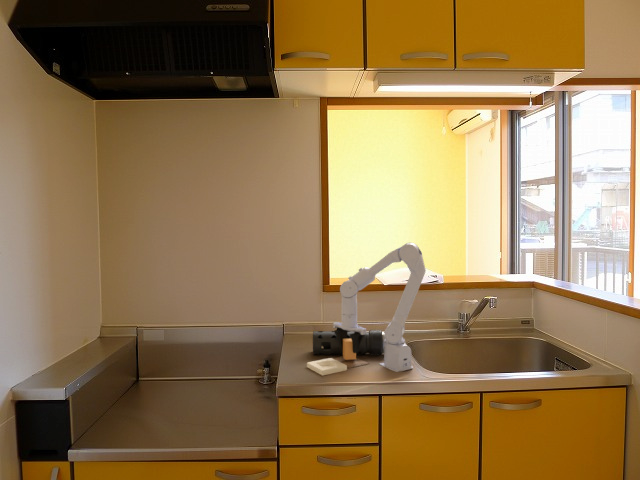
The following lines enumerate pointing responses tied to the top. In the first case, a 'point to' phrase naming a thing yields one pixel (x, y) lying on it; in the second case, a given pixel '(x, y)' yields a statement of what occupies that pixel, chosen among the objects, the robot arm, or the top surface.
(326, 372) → the socket block
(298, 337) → the top surface
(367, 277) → the robot arm
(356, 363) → the pad
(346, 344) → the plug
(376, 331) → the muzzle brake
